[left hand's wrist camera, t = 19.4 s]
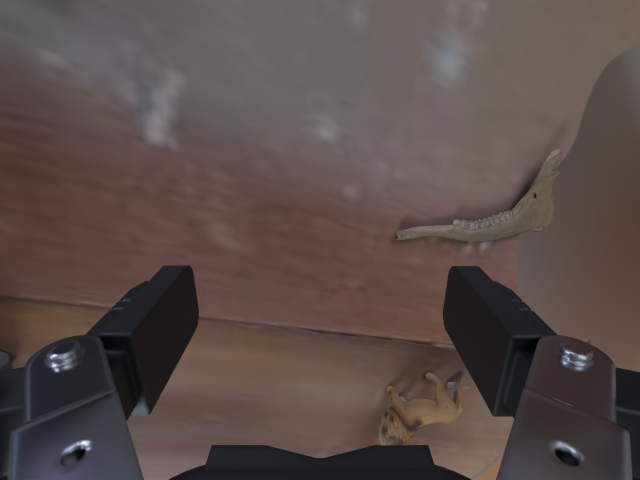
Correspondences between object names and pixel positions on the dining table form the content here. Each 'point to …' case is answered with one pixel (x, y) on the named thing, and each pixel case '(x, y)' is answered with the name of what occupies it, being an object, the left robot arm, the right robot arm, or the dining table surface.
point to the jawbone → (502, 214)
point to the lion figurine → (419, 412)
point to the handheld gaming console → (5, 362)
